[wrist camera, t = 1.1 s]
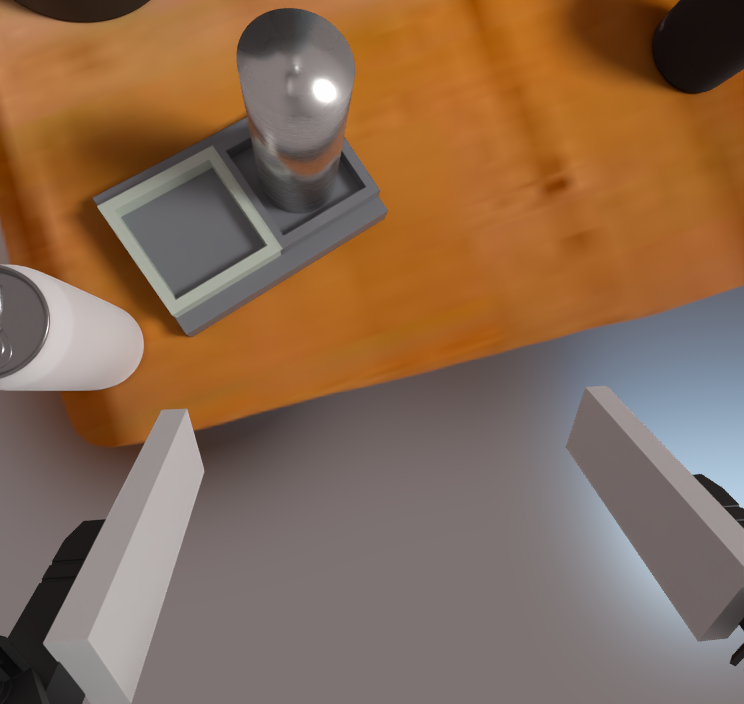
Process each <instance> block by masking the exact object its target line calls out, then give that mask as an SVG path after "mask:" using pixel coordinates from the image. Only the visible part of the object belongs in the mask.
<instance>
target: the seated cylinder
mask: <svg viewBox="0 0 744 704" xmlns="http://www.w3.org/2000/svg"><path fill="white" fill-rule="evenodd" d="M237 67H238V72H239V78H240V83H241V88H242V93H243V99H244V104H245V109H246V114H247V120H248V125H249V130H250V135H251V141H252V146H253V151H254V156H255V161H256V167H257V172H258V177H259V182H260V186H261V188H262V191H263V192H264V194H265V196H266V197H267V198H268V200H269V201H270V202H271V203H273V204H274V205H275V206H277V207H278V208H280V209H282V210H284V211H287V212H290V213H296V214H303V213H309V212H313V211H315V210H317V209H319V208H321V207H322V206H323V205H325V204H326V203H327V202H328V200H329V199H330V198H331V196H332V194H333V192H334V188H335V184H336V178H337V173H338V167H339V161H340V156H341V150H342V145H343V139H344V133H345V128H346V122H347V116H348V111H349V105H350V100H351V94H352V88H353V83H354V76H355V64H354V58H353V54H352V51H351V49H350V47H349V44H348V43H347V41H346V39H345V38H344V36H343V35H342V34H341V32H340V31H339V30H338V29H337V28H336V27H335V26H334V25H332V24H331V23H330V22H329V21H327V20H326V19H324V18H323V17H321V16H319V15H317V14H314V13H312V12H309V11H305V10H301V9H294V8H283V9H276V10H272V11H269V12H267V13H264V14H262V15H261V16H259V17H257V18H256V19H255V20H253V21H252V22H251V23H250V24H249V25H248V26H247V27H246V29H245V30H244V32H243V33H242V35H241V38H240V40H239V43H238V47H237Z"/></svg>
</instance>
